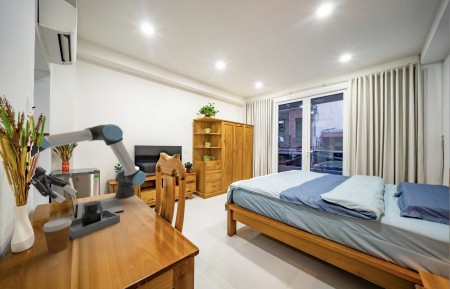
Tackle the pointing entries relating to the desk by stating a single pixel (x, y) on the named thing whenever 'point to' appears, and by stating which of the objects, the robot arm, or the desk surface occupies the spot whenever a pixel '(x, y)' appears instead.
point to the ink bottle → (91, 213)
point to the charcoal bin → (79, 231)
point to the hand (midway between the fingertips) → (69, 197)
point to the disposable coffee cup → (57, 234)
